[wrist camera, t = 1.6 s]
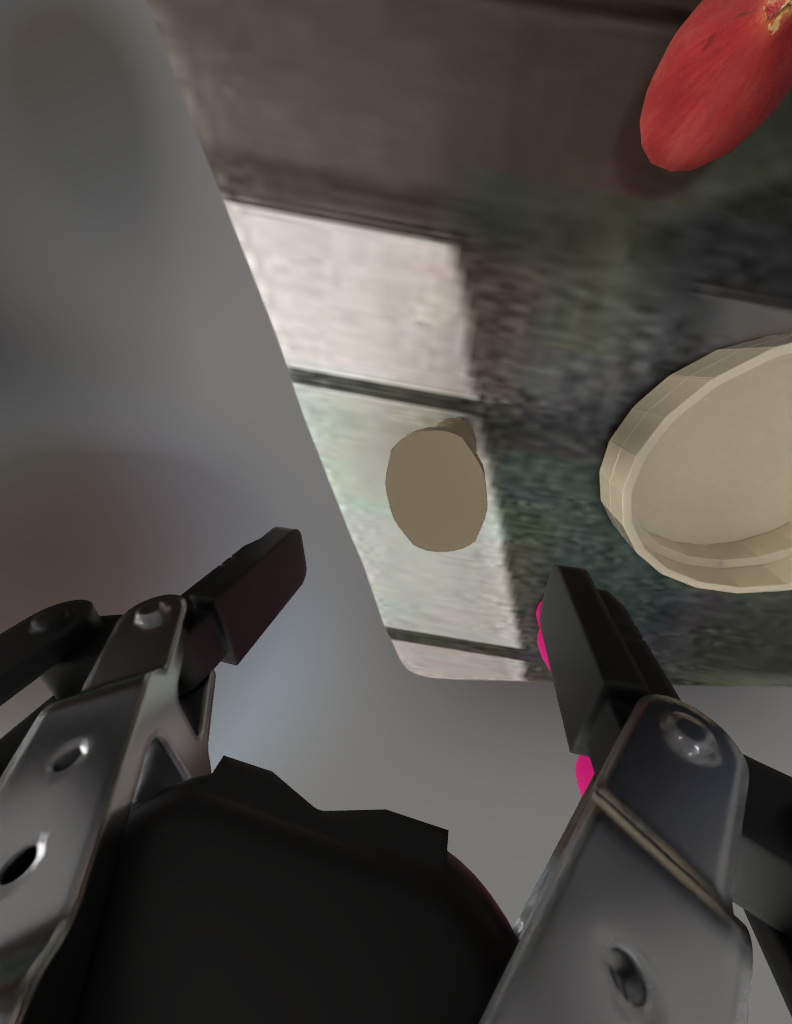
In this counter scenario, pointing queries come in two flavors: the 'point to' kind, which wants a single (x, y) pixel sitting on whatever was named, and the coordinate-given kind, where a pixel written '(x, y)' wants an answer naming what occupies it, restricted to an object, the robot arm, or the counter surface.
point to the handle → (438, 486)
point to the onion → (717, 81)
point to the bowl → (710, 471)
